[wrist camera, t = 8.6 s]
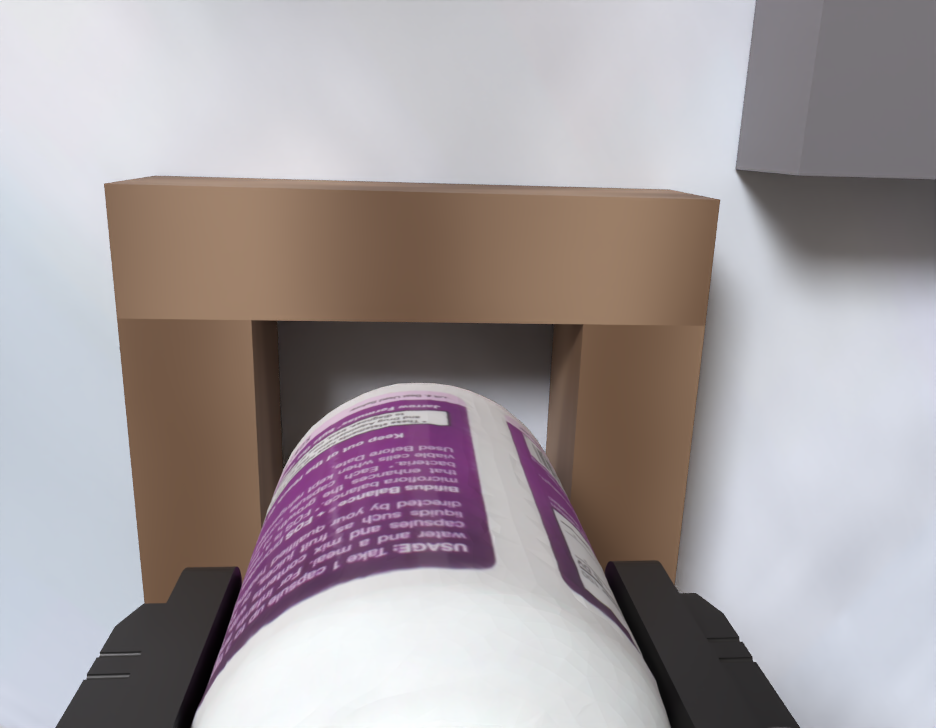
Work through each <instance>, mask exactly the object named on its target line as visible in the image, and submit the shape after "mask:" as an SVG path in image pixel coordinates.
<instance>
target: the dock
mask: <svg viewBox="0 0 936 728" xmlns="http://www.w3.org/2000/svg"><path fill="white" fill-rule="evenodd" d="M104 188H105V198H106V208H107V219H108V229H109V239H110V250H111V260H112V271H113V281H114V291H115V302H116V312H117V322H118V333H119V343H120V353H121V364H122V374H123V384H124V395H125V405H126V415H127V426H128V436H129V447H130V457H131V467H132V478H133V488H134V498H135V509H136V519H137V529H138V540H139V550H140V560H141V571H142V581H143V591H144V602H145V604H148V603H166V602H167V601H168V599H169V597H170V595H171V593H172V591H173V589H174V587H175V585H176V583H177V581H178V579H179V577H180V575H181V573H182V571H183V570H184V569H185V568H186V567H235V566H237V567H239V569H240V572H241V577H242V583H243V580H244V578H245V575H246V572H247V569H248V566H249V563H250V560H251V557H252V554H253V551H254V549H255V546H256V543H257V540H258V537H259V535H260V532H261V529H262V526H263V523H264V520H265V517H266V514H267V510H268V508H269V505H270V503H271V500H272V498H273V495H274V492H275V489H276V487H277V485H278V482H279V480H280V477H281V475H282V472H283V459H282V433H281V406H280V380H279V354H278V328H277V320H279V321H359V322H440V323H520V324H554V330H553V346H552V362H551V378H550V394H549V410H548V426H547V441H546V455H547V457H548V459H549V461H550V463H551V465H552V466H553V468H554V470H555V472H556V474H557V476H558V478H559V480H560V482H561V484H562V487H563V488H564V490H565V492H566V494H567V497H568V499H569V501H570V503H571V505H572V507H573V509H574V511H575V513H576V515H577V517H578V519H579V521H580V524H581V526H582V528H583V530H584V532H585V534H586V536H587V538H588V540H589V543H590V545H591V547H592V549H593V551H594V553H595V555H596V558H597V560H598V562H599V564H600V565H601V567H602V569H603V572H604V573H605V568H606V565H607V563H608V562H609V561H642V560H657V561H659V562H660V563H661V564H662V566H663V567H664V569H665V571H666V572H667V574H668V576H669V577H670V579H671V581H672V582H673V584H674V585H675V577H676V569H677V560H678V552H679V543H680V535H681V526H682V518H683V509H684V501H685V492H686V484H687V475H688V467H689V459H690V450H691V442H692V433H693V425H694V416H695V408H696V399H697V391H698V382H699V374H700V365H701V357H702V349H703V340H704V332H705V323H706V315H707V306H708V298H709V289H710V281H711V272H712V264H713V255H714V247H715V239H716V230H717V222H718V213H719V205H720V200H719V199H714V198H709V197H704V196H699V195H693V194H688V193H683V192H678V191H673V190H660V189H623V188H586V187H550V186H513V185H476V184H439V183H402V182H365V181H328V180H291V179H255V178H218V177H181V176H151V177H144V178H138V179H131V180H125V181H118V182H112V183H105V184H104Z"/></svg>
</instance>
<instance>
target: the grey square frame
mask: <svg viewBox="0 0 936 728" xmlns="http://www.w3.org/2000/svg"><path fill="white" fill-rule="evenodd" d="M736 169H738V170H748V171H759V172H769V173H779V174H789V175H803V176H837V177H871V178H906V179H936V0H756V6H755V14H754V22H753V31H752V39H751V47H750V55H749V63H748V71H747V80H746V88H745V96H744V104H743V112H742V121H741V129H740V137H739V145H738V153H737V161H736Z"/></svg>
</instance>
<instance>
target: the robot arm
mask: <svg viewBox="0 0 936 728" xmlns="http://www.w3.org/2000/svg"><path fill="white" fill-rule="evenodd" d="M604 574H605V577H606V579H607V582H608V584H609V586H610V589H611V591H612V593H613V595H614V597H615V600H616V602H617V604H618V606H619V608H620V610H621V612H622V614H623V617H624V619H625V621H626V623H627V625H628V627H629V629H630V631H631V633H632V635H633V637H634V639H635V641H636V643H637V645H638V647H639V649H640V651H641V653H642V656H643V659H644V661H645V662H646V664H647V666H648V668H649V669H650V671H651V673H652V674H653V676H654V678H655V680H656V682H657V686H658V690H659V693H660V696H661V699H662V702H663V705H664V707H665V710H666V713H667V716H668V720H669V723H670V726H671V728H800V727H799V725H798V724H797V722H796V721H795V719H794V718H793V717H792V715H791V714H790V712H789V711H788V709H787V708H786V706H785V705H784V703H783V702H782V700H781V699H780V697H779V696H778V694H777V693H776V691H775V690H774V688H773V687H772V685H771V684H770V682H769V681H768V679H767V678H766V676H765V675H764V673H763V672H762V670H761V669H760V667H759V666H758V664H757V663H756V662H753V659H752V656H751V654H750V653H749V651H748V650H747V648H746V647H745V645H744V644H743V642H740V641H739V636H738V635H737V633H736V632H735V630H734V629H733V627H732V626H731V624H730V623H729V621H728V620H727V618H726V617H725V615H724V614H723V613H722V612H721V611H719V610H718V609H717V608H715V607H714V606H713V605H711V604H710V603H709V602H707V601H706V600H704V599H703V598H702V597H700V596H699V595H698V594H696V593H679V592H678V590H677V589H676V587H675V586H674V584H673V582H672V581H671V579H670V577H669V576H668V574H667V572H666V571H665V569H664V567H663V566H662V564H661V563H660V562H659V561H657V560H642V561H609V562H608V563H607V565H606V568H605V573H604ZM241 587H242V577H241V572H240V569H239V567H237V566H235V567H186V568H185V569H184V570H183V571H182V573H181V575H180V577H179V579H178V581H177V583H176V585H175V587H174V589H173V591H172V593H171V595H170V597H169V599H168V601H167V602H166V603H148V604H143V605H141V606H140V607H139V608H138V609H136V610H135V611H134V612H133V613H131V614H130V615H129V616H128V617H126V618H125V619H124V620H122V621H121V622H120V623H119V624H117V625H116V626H115V628H114V629H113V631H112V633H111V634H110V636H109V638H108V639H107V641H106V643H105V645H104V646H103V648H102V650H101V651H100V657H98V658H96V660H95V662H94V663H93V665H92V667H91V668H90V670H89V672H88V673H87V679H86V680H83V682H82V684H81V685H80V687H79V689H78V690H77V692H76V694H75V696H74V697H73V699H72V701H71V702H70V704H69V706H68V707H67V709H66V711H65V712H64V714H63V716H62V718H61V719H60V721H59V723H58V724H57V726H56V728H191V723H192V721H193V718H194V716H195V713H196V711H197V709H198V706H199V704H200V702H201V700H202V697H203V695H204V693H205V691H206V688H207V686H208V683H209V680H210V677H211V674H212V671H213V668H214V665H215V662H216V660H217V657H218V654H219V652H220V649H221V646H222V644H223V641H224V638H225V635H226V632H227V629H228V626H229V623H230V620H231V617H232V614H233V610H234V607H235V604H236V602H237V599H238V596H239V593H240V590H241Z"/></svg>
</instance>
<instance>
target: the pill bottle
mask: <svg viewBox="0 0 936 728" xmlns="http://www.w3.org/2000/svg"><path fill="white" fill-rule="evenodd" d="M191 728H671V726H670V723H669V720H668V716H667V713H666V710H665V707H664V705H663V702H662V699H661V696H660V693H659V690H658V686H657V682H656V680H655V678H654V676H653V674H652V673H651V671H650V669H649V668H648V666H647V664H646V662H645V661H644V659H643V656H642V653H641V651H640V649H639V647H638V645H637V643H636V641H635V639H634V637H633V635H632V633H631V631H630V629H629V627H628V625H627V623H626V621H625V619H624V617H623V614H622V612H621V610H620V608H619V606H618V604H617V602H616V600H615V597H614V595H613V593H612V591H611V589H610V586H609V584H608V582H607V579H606V577H605V574H604V572H603V569H602V567H601V565H600V564H599V562H598V560H597V558H596V555H595V553H594V551H593V549H592V547H591V545H590V543H589V540H588V538H587V536H586V534H585V532H584V530H583V528H582V526H581V524H580V521H579V519H578V517H577V515H576V513H575V511H574V509H573V507H572V505H571V503H570V501H569V499H568V497H567V494H566V492H565V490H564V488H563V487H562V484H561V482H560V480H559V478H558V476H557V474H556V472H555V470H554V468H553V466H552V465H551V463H550V461H549V459H548V457H547V455H546V454H545V452H544V450H543V449H542V447H541V445H540V444H539V442H538V441H537V439H536V438H535V437H534V436H533V434H532V433H531V432H530V431H529V429H528V428H527V427H526V426H525V425H524V424H523V423H522V422H521V421H520V420H518V419H517V418H516V417H515V416H513V415H512V414H511V413H510V412H509V411H507V410H506V409H505V408H504V407H502V406H501V405H499V404H497V403H496V402H494V401H492V400H490V399H488V398H486V397H484V396H481V395H479V394H477V393H474V392H472V391H469V390H466V389H463V388H459V387H455V386H451V385H443V384H436V383H401V384H394V385H390V386H385V387H380V388H378V389H375V390H372V391H369V392H366V393H364V394H362V395H360V396H358V397H356V398H354V399H352V400H349V401H347V402H345V403H344V404H342V405H340V406H339V407H337V408H336V409H334V410H332V411H331V412H329V413H328V414H327V415H326V416H324V417H323V418H322V419H321V420H320V421H319V422H317V423H316V424H315V425H313V426H312V427H311V429H310V430H309V431H308V432H307V433H306V435H305V436H304V437H303V438H302V439H301V441H300V442H299V443H298V445H297V446H296V448H295V449H294V450H293V452H292V453H291V455H290V457H289V460H288V462H287V464H286V466H285V468H284V470H283V472H282V475H281V477H280V480H279V482H278V485H277V487H276V489H275V492H274V495H273V498H272V500H271V503H270V505H269V508H268V510H267V514H266V517H265V520H264V523H263V526H262V529H261V532H260V535H259V537H258V540H257V543H256V546H255V549H254V551H253V554H252V557H251V560H250V563H249V566H248V569H247V572H246V575H245V578H244V580H243V583H242V587H241V590H240V593H239V596H238V599H237V602H236V604H235V607H234V610H233V614H232V617H231V620H230V623H229V626H228V629H227V632H226V635H225V638H224V641H223V644H222V646H221V649H220V652H219V654H218V657H217V660H216V662H215V665H214V668H213V671H212V674H211V677H210V680H209V683H208V686H207V688H206V691H205V693H204V695H203V697H202V700H201V702H200V704H199V706H198V709H197V711H196V713H195V716H194V718H193V721H192V723H191Z"/></svg>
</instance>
